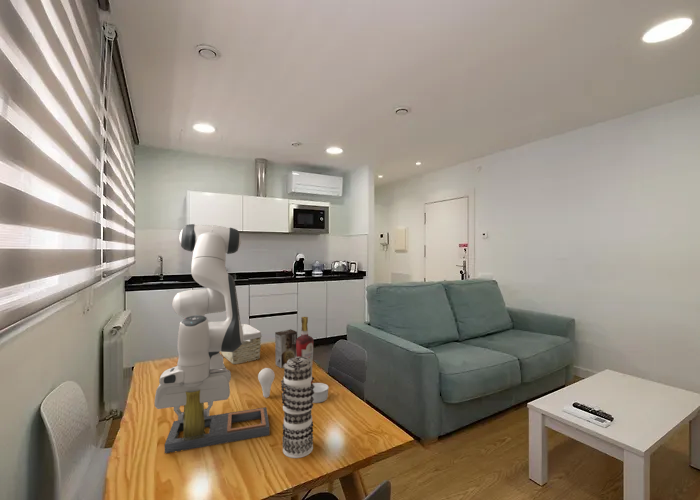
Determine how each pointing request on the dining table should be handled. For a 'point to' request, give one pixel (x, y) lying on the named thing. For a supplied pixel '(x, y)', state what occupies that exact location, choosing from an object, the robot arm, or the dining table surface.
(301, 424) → the decorative candle
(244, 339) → the storage basket
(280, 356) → the coffee box
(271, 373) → the lightbulb
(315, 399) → the ramekin
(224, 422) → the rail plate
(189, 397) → the vase
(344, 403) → the dining table surface
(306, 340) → the liquor
